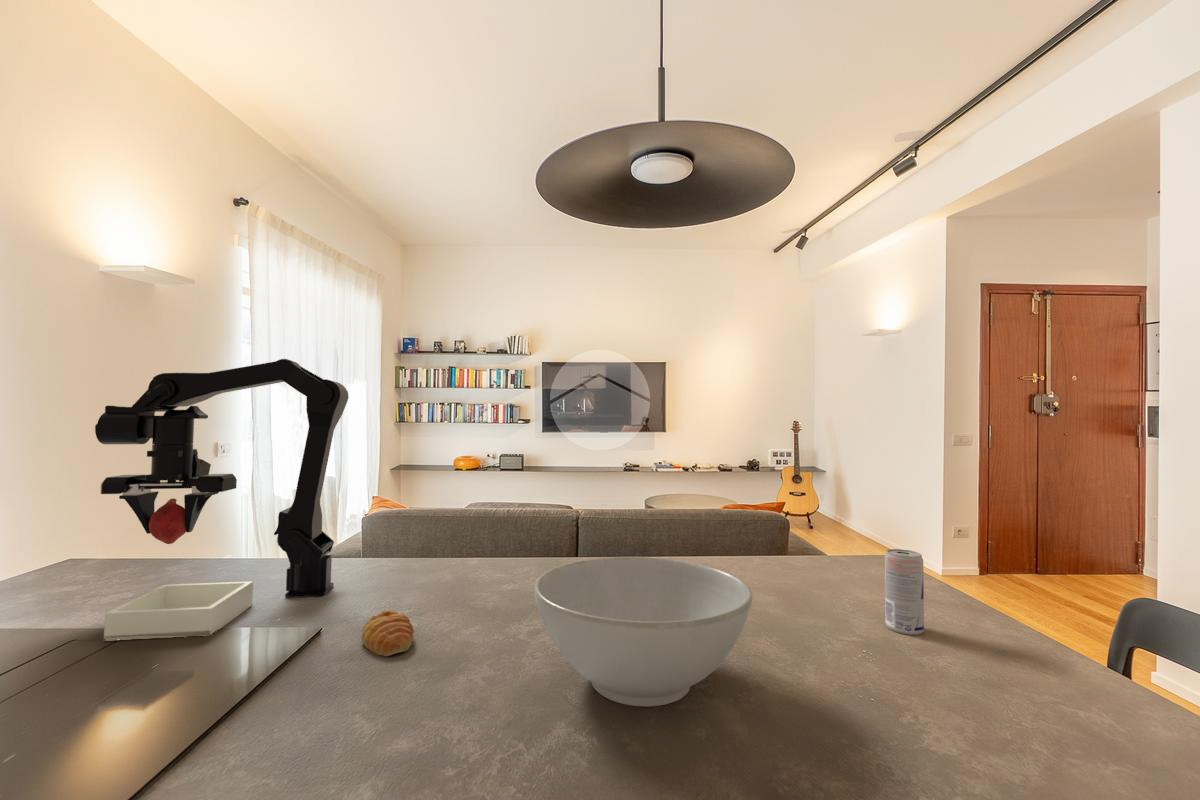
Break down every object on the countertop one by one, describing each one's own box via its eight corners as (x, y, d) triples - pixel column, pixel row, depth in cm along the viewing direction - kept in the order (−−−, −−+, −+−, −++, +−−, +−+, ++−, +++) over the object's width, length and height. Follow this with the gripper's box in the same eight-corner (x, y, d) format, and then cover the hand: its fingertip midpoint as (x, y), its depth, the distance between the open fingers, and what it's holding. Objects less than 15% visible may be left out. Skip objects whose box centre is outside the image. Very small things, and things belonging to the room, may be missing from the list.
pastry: (423, 652, 74) (424, 624, 75) (372, 664, 71) (372, 635, 71) (404, 630, 82) (405, 605, 82) (357, 640, 78) (358, 614, 78)
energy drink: (921, 626, 86) (920, 551, 87) (926, 638, 81) (925, 558, 82) (884, 620, 88) (883, 547, 89) (886, 631, 83) (885, 554, 84)
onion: (171, 548, 91) (173, 501, 92) (138, 547, 92) (140, 500, 92) (198, 540, 97) (199, 496, 98) (167, 540, 97) (168, 496, 98)
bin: (252, 604, 92) (253, 581, 92) (210, 636, 78) (211, 608, 79) (162, 608, 89) (164, 584, 89) (103, 641, 76) (105, 613, 76)
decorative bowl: (547, 635, 80) (548, 554, 81) (726, 640, 79) (726, 558, 80) (512, 741, 54) (515, 619, 54) (782, 750, 53) (782, 626, 53)
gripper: (251, 442, 105) (249, 522, 104) (143, 442, 101) (140, 525, 101) (222, 444, 94) (219, 534, 93) (100, 445, 90) (96, 538, 90)
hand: (169, 532), depth 94 cm, fingers closed on onion, 6 cm apart
